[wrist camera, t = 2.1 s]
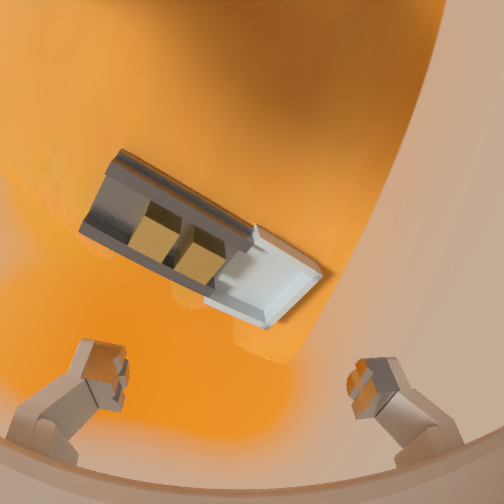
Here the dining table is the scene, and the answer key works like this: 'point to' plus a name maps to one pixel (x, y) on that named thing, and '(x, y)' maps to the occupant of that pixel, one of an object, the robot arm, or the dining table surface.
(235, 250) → the slot bed
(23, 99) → the dining table surface
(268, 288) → the tray
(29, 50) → the dining table surface
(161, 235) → the tan yellow cube
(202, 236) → the yellow cube
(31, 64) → the dining table surface
